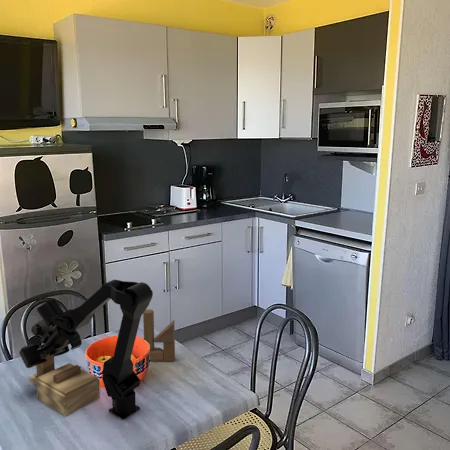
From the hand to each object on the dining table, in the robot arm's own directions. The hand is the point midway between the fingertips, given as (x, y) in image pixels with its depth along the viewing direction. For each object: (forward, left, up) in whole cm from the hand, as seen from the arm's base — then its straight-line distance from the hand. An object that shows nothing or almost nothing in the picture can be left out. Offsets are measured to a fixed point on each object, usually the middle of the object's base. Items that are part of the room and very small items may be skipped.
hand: (42, 359), depth 150 cm
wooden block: (-20, -32, -7) cm, 39 cm away
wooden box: (-11, +2, -7) cm, 13 cm away
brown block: (-1, 0, -7) cm, 7 cm away
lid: (-16, +2, -1) cm, 17 cm away
